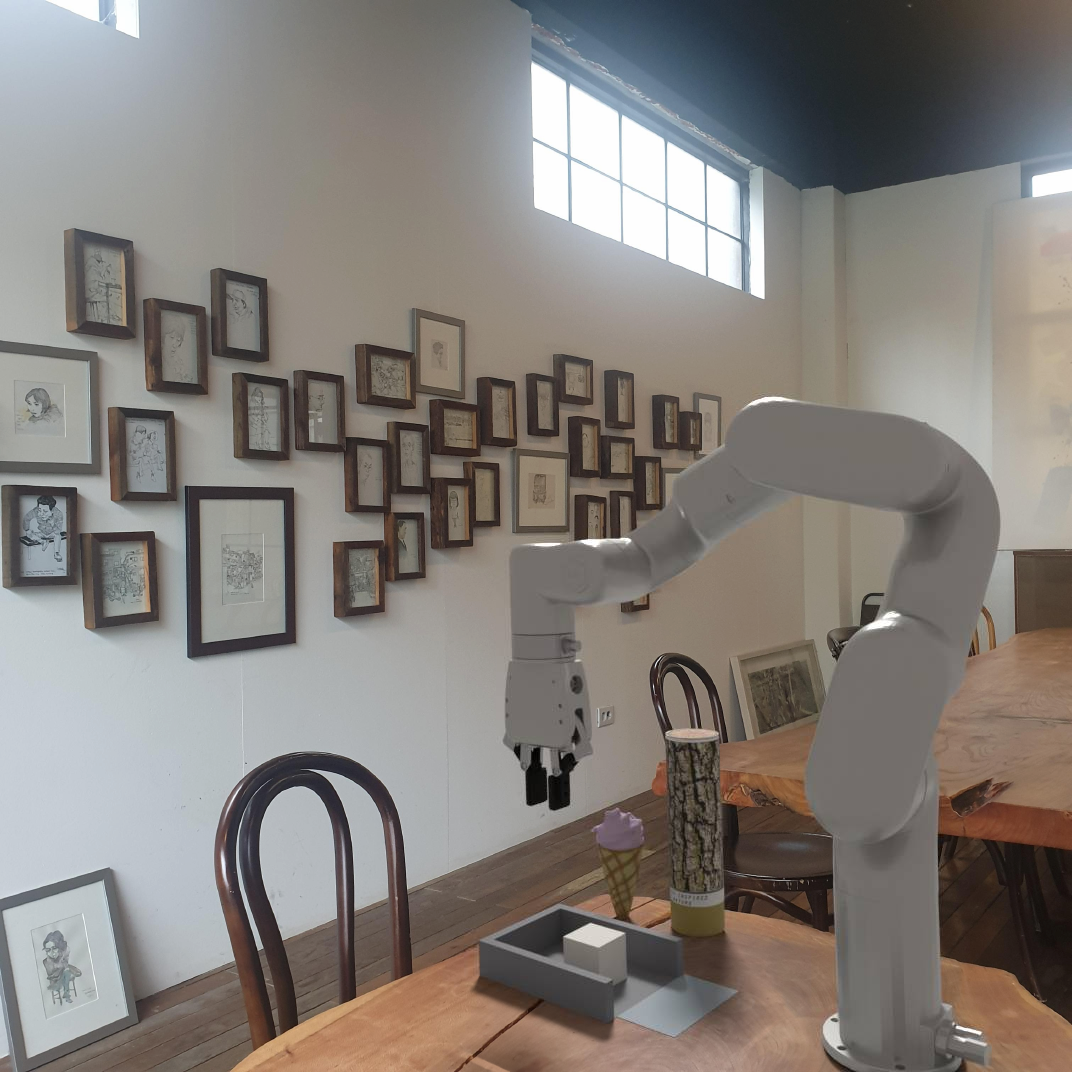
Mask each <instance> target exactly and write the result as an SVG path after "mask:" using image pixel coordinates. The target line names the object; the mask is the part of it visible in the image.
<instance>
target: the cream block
mask: <svg viewBox="0 0 1072 1072" xmlns="http://www.w3.org/2000/svg"><path fill="white" fill-rule="evenodd" d="M563 948H564V963H565V964H568V965H571V966H574V967H577V968H580V969H583V970H586V971H589V972H592V973H595V974H598V975H601V976H604V977H607V978H610V979H613V986H614V985H616V984H617V983H619V982H621V981H622V980H624V979H626V978H627V962H626V933H623V932H620V931H617V930H613V929H610V928H606V927H603V926H599V925H596V924H592V923H589V924H587V925H585V926H583V927H581V928H579V929H577V930H575V931H573V932H572V933H570V934H568V935H566V936H564V937H563Z"/></svg>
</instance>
